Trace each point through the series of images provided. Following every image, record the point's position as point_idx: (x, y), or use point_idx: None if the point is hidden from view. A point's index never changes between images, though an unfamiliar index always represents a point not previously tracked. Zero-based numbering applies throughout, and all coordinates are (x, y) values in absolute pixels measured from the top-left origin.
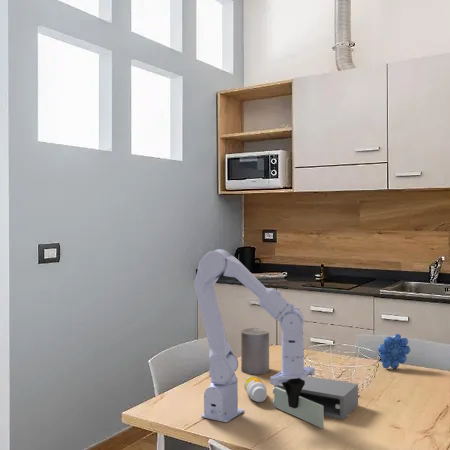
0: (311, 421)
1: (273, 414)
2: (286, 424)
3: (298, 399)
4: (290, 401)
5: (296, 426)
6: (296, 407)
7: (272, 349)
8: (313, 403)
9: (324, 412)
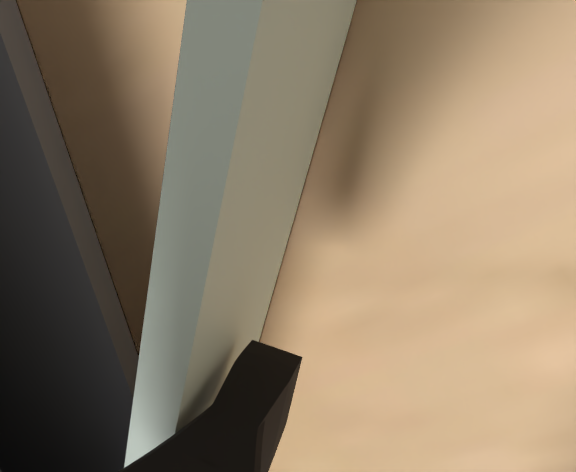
0: (328, 79)
1: (335, 467)
2: (492, 304)
3: (191, 402)
4: (264, 461)
5: (487, 194)
6: (268, 348)
7: None
8: (245, 86)
9: (18, 96)
